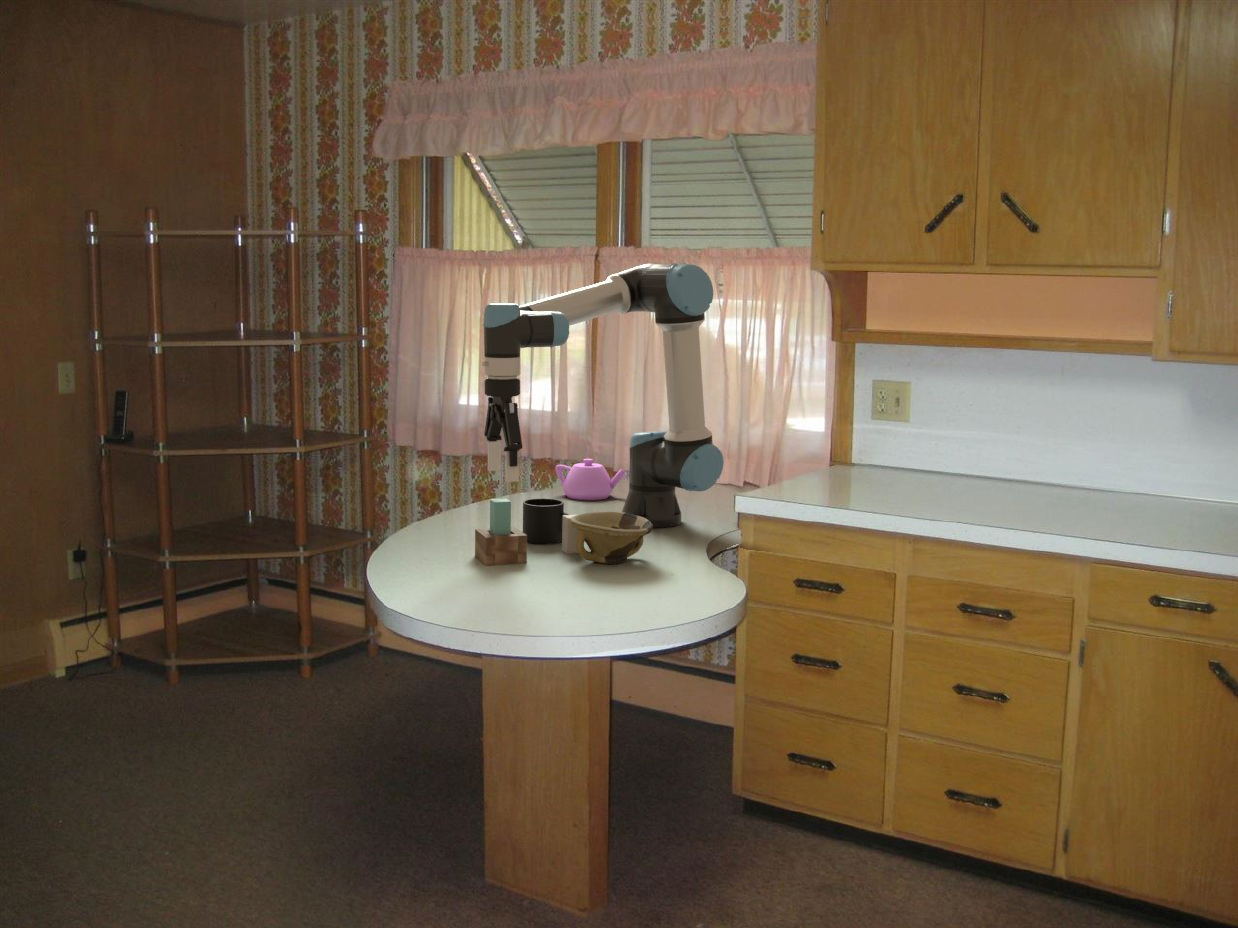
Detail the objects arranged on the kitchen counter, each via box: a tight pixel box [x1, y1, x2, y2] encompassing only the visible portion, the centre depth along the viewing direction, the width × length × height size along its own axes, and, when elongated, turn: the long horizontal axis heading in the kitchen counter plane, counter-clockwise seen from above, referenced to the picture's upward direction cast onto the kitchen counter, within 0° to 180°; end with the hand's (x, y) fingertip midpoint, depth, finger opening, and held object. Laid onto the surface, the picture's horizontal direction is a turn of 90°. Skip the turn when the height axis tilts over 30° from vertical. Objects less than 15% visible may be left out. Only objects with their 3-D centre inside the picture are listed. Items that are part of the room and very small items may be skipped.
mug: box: [522, 498, 570, 545], centre depth 280 cm, size 9×12×9 cm
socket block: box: [474, 526, 528, 566], centre depth 261 cm, size 9×9×6 cm
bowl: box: [570, 511, 653, 565], centre depth 261 cm, size 18×18×10 cm
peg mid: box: [561, 514, 579, 555], centre depth 270 cm, size 4×4×8 cm
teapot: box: [555, 458, 627, 501], centre depth 336 cm, size 14×20×11 cm
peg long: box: [489, 498, 512, 535], centre depth 260 cm, size 4×4×13 cm
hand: (502, 476), depth 258 cm, fingers open, 13 cm apart
